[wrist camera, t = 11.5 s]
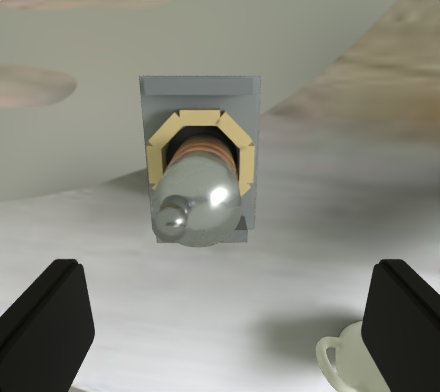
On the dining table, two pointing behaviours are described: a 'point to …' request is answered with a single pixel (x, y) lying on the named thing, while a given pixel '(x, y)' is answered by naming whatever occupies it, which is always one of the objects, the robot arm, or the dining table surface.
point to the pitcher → (350, 363)
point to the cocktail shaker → (198, 194)
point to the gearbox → (204, 128)
